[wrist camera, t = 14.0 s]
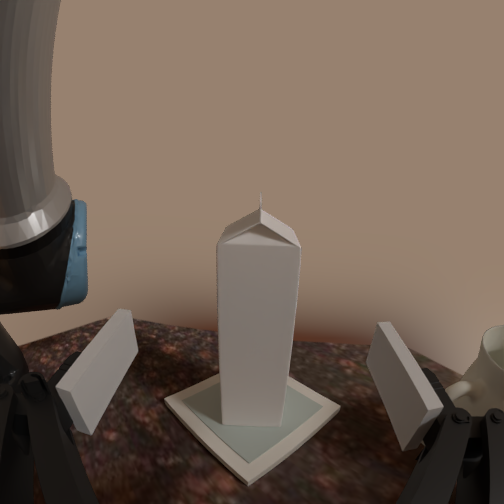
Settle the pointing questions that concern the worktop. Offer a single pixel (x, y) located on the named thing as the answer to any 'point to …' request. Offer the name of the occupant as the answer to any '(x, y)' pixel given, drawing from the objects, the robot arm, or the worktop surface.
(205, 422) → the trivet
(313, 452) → the worktop surface
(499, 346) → the pitcher
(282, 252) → the milk
